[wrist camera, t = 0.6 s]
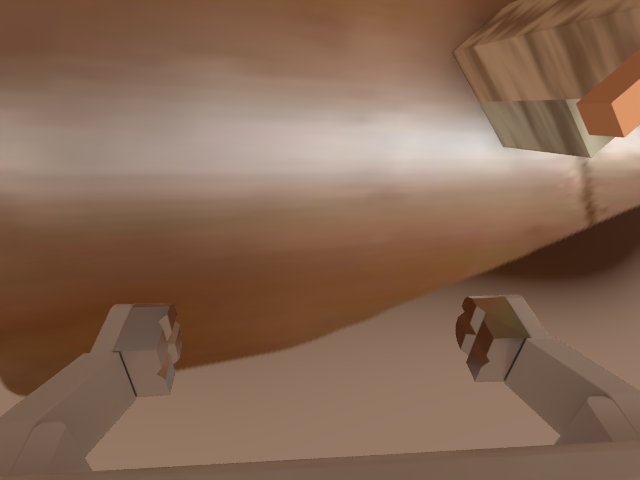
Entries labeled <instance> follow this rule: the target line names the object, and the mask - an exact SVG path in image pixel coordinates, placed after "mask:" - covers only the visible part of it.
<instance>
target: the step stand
mask: <svg viewBox="0 0 640 480" xmlns="http://www.w3.org/2000/svg"><path fill="white" fill-rule="evenodd" d="M639 49H640V0H517V1H514V2H511V3H509V4H508V5H507V6H505V7H504V8H503V9H502V10H501V11H500V12H498V13H497V14H496V15H495V16H494V17H493V18H491V19H490V20H489V21H488V22H487V23H486V24H484V25H483V26H482V27H481V28H480V29H479V30H477V31H476V32H475V33H474V34H473V35H472V36H470V37H469V38H468V39H467V40H466V41H465V42H463V43H462V44H461V45H460V46H459V47H458V48H456V49H455V50H454V51H453V54H454V56H455V58H456V59H457V61H458V63H459V65H460V67H461V69H462V71H463V72H464V74H465V76H466V78H467V80H468V82H469V84H470V85H471V87H472V89H473V91H474V93H475V95H476V97H477V98H478V100H479V102H480V104H481V106H482V108H483V110H484V111H485V113H486V115H487V117H488V119H489V121H490V123H491V124H492V126H493V128H494V130H495V132H496V134H497V136H498V137H499V139H500V141H501V143H502V145H503V147H510V148H517V149H525V150H533V151H541V152H549V153H557V154H565V155H573V156H581V157H589V158H591V157H592V156H594V155H595V154H596V153H597V152H598V151H599V150H601V149H602V148H603V147H604V146H605V145H606V144H608V143H609V142H610V141H611V140H612V139H613V138H615V137H611V136H596V135H589V134H588V131H587V129H586V127H585V124H584V122H583V120H582V117H581V115H580V113H579V110H578V108H577V106H576V103H577V102H578V101H580V100H581V99H582V98H583V97H584V96H585V95H587V94H588V93H589V92H590V91H591V90H592V89H594V88H595V87H596V86H597V85H598V84H599V83H601V82H602V81H603V80H604V79H605V78H606V77H608V76H609V75H610V74H611V73H612V72H613V71H615V70H616V69H617V68H618V67H619V66H620V65H622V64H623V63H624V62H625V61H626V60H627V59H629V58H630V57H631V56H632V55H633V54H634V53H636V52H637V51H638V50H639Z"/></svg>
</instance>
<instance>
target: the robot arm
mask: <svg viewBox="0 0 640 480" xmlns="http://www.w3.org/2000/svg"><path fill="white" fill-rule="evenodd" d="M462 307H463V310H464V313H463V314H461V315H460V316H459V317H458V319H457V323H456V338H457V342H458V344H459V347H460V349H461V350H462V351H463V352H465V353H466V354H467V355H469V356H468V359H467V361H466V363H467V365H468V367H469V370H470V372H471V374H472V376H473V378H474V381H475V382H504V383H505V384H506V385H507V386H508V387H509V388H510V389H511V390H512V391H513V392H514V393H516V394H517V395H518V396H519V397H520V398H521V399H522V400H523V401H524V402H525V403H526V404H527V405H528V406H529V407H531V408H532V409H533V410H534V411H535V412H536V413H537V414H538V415H539V416H540V417H541V418H542V419H543V420H545V421H546V422H547V423H548V424H549V425H550V426H551V427H552V428H553V429H554V430H556V432H558V433H559V434H560V435H561V436H560V437H559V438H558V440H557V441H556V443H555V444H554V445H544V446H526V447H508V448H492V449H475V450H456V451H440V452H421V453H404V454H387V455H370V456H354V457H353V456H352V457H335V458H318V459H300V460H282V461H266V462H248V463H230V464H212V465H195V466H177V467H161V468H160V467H159V468H143V469H124V470H107V471H92V469H91V467H90V466H89V464H88V463H87V461H86V459H85V457H86V455H87V454H88V453H89V452H90V451H91V450H92V449H93V448H94V446H95V445H96V444H97V443H98V442H99V441H100V439H102V437H103V436H104V435H105V434H106V433H107V432H108V431H109V430H110V428H111V427H112V426H113V425H114V424H115V423H116V421H118V419H119V418H120V417H121V416H122V415H123V414H124V413H125V411H126V410H127V409H128V408H129V407H130V406H131V405H132V404H133V403H134V401H135V400H136V397H148V396H162V395H170V392H171V388H172V384H173V380H174V376H175V370H174V366H173V364H174V363H175V362H176V361H177V360H178V359H179V356H180V352H181V342H182V336H181V329H180V325H179V324H178V323H176V322H175V319H176V316H177V312H176V308H175V305H174V304H115V305H114V306H113V307H112V308H111V309H110V311H109V313H108V316H107V318H106V320H105V322H104V324H103V326H102V328H101V330H100V333H99V335H98V337H97V339H96V341H95V343H94V345H93V347H92V349H91V352H90V353H84V354H82V355H81V356H80V357H78V358H77V359H76V360H74V361H73V362H72V363H71V364H69V365H68V366H67V367H65V368H64V369H63V370H61V371H60V372H59V373H57V374H56V375H55V376H53V377H52V378H51V379H49V380H48V381H47V382H45V383H44V384H43V385H42V386H40V387H39V388H38V389H36V390H35V391H34V392H32V393H31V394H30V395H28V396H27V397H26V398H24V399H23V400H22V401H20V402H19V403H18V404H16V405H15V406H14V407H13V408H11V409H10V410H9V411H7V412H6V413H5V414H4V415H2V416H1V417H0V480H640V390H638V389H637V388H635V387H633V386H632V385H630V384H628V383H627V382H625V381H624V380H622V379H621V378H619V377H617V376H616V375H614V374H613V373H611V372H609V371H608V370H606V369H605V368H603V367H602V366H600V365H598V364H596V363H595V362H594V361H592V360H590V359H589V358H587V357H586V356H584V355H582V354H581V353H579V352H578V351H576V350H574V349H573V348H571V347H570V346H568V345H567V344H565V343H563V342H562V341H560V340H558V339H557V338H550V337H549V335H548V334H547V332H546V330H545V329H544V328H543V326H542V325H541V324H540V322H539V320H538V319H537V317H536V316H535V314H534V313H533V312H532V310H531V309H530V307H529V306H528V304H527V303H526V301H525V300H524V299H523V297H521V296H520V295H501V296H499V295H495V296H468V297H466V298H465V299H464V302H463V305H462Z"/></svg>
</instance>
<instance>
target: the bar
mask: <svg viewBox="0 0 640 480" xmlns="http://www.w3.org/2000/svg"><path fill="white" fill-rule="evenodd" d="M576 106H577V108H578V110H579V113H580V115H581V117H582V120H583V122H584V124H585V127H586V129H587V131H588V134H589V135H596V136H611V137H626V136H627V135H628V134H629V133H630V132H631V131H633V130H634V129H635V128H636V127H637V126H638V125H640V49H639V50H638V51H637V52H636V53H634V54H633V55H632V56H631V57H630V58H629V59H627V60H626V61H625V62H624V63H623V64H622V65H620V66H619V67H618V68H617V69H616V70H615V71H613V72H612V73H611V74H610V75H609V76H608V77H606V78H605V79H604V80H603V81H602V82H601V83H599V84H598V85H597V86H596V87H595V88H594V89H592V90H591V91H590V92H589V93H588V94H587V95H585V96H584V97H583V98H582V99H581V100H580V101H578V102H577V103H576Z"/></svg>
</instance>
